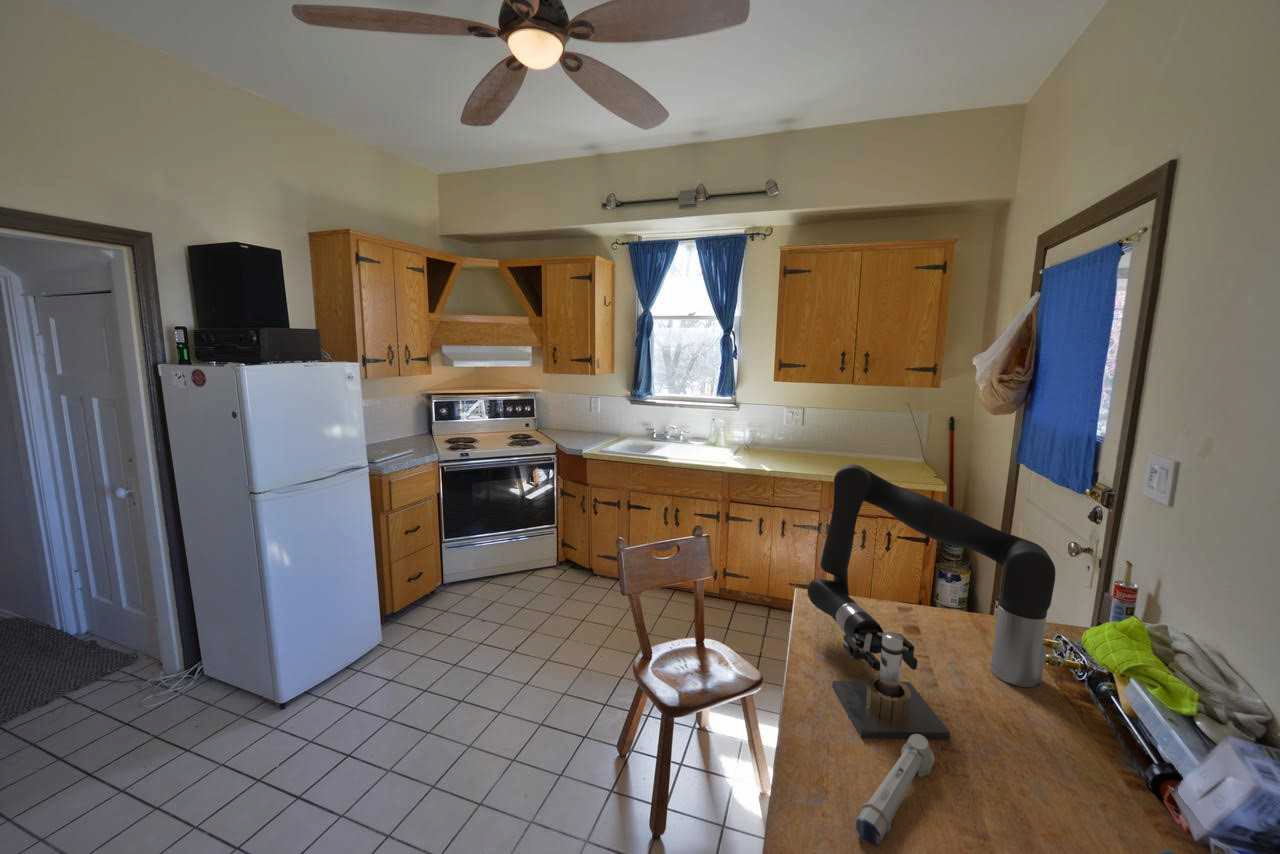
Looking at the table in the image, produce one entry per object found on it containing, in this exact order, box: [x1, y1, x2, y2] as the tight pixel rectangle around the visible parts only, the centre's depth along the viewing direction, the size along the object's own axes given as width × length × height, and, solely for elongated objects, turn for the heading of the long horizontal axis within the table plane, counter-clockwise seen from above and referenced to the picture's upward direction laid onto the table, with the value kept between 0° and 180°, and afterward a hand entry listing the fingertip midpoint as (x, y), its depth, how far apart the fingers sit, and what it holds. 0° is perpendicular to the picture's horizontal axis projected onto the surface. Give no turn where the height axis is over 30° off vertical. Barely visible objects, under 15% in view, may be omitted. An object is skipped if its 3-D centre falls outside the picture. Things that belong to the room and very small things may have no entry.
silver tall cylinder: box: [878, 631, 904, 698], centre depth 110 cm, size 4×4×16 cm
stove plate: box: [831, 675, 951, 740], centre depth 111 cm, size 18×16×6 cm
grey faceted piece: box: [855, 734, 936, 846], centre depth 90 cm, size 5×7×25 cm
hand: (897, 666), depth 108 cm, fingers open, 7 cm apart
